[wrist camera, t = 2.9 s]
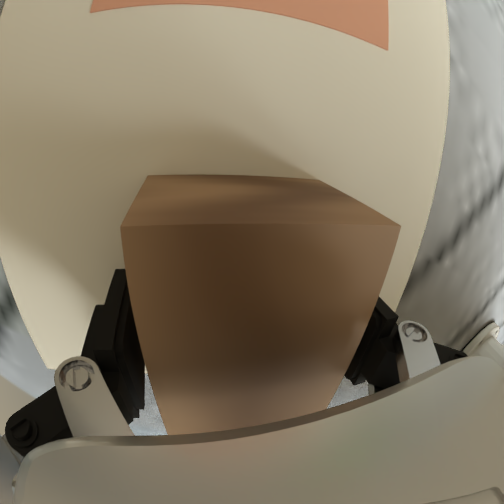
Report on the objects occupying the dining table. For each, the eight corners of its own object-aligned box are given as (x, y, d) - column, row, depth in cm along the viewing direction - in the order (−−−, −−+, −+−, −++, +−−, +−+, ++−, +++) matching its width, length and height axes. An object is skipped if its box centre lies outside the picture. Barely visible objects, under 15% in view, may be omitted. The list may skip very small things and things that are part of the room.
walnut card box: (319, 180, 10) (401, 225, 6) (284, 355, 14) (316, 425, 10) (147, 175, 8) (120, 226, 4) (166, 366, 12) (173, 448, 8)
